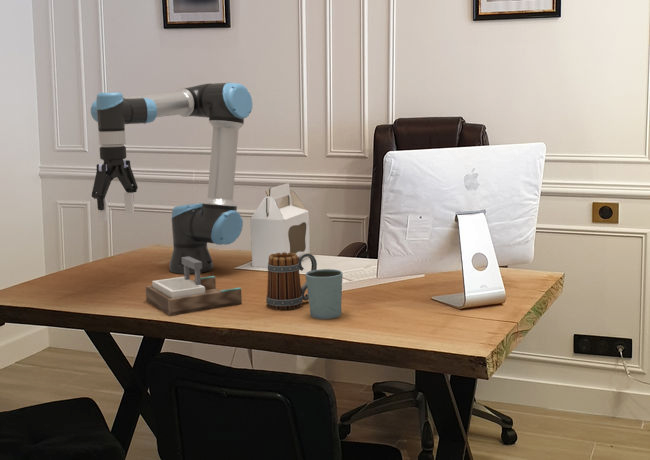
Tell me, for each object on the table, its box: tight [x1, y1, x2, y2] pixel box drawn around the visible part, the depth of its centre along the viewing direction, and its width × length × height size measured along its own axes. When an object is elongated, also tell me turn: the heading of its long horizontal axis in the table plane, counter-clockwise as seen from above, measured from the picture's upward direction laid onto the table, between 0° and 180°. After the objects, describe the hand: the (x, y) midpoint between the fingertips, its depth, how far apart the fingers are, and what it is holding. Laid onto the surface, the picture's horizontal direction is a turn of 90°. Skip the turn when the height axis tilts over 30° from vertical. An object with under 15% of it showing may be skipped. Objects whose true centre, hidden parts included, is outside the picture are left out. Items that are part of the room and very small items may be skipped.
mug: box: [265, 252, 318, 311], centre depth 242 cm, size 16×11×15 cm
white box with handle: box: [151, 256, 205, 299], centre depth 245 cm, size 11×16×12 cm, turn 31°
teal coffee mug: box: [305, 268, 343, 320], centre depth 231 cm, size 10×10×12 cm
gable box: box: [250, 182, 311, 269], centre depth 302 cm, size 22×13×28 cm, turn 158°
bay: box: [145, 275, 243, 317], centre depth 248 cm, size 22×20×5 cm
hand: (117, 217), depth 249 cm, fingers open, 13 cm apart
